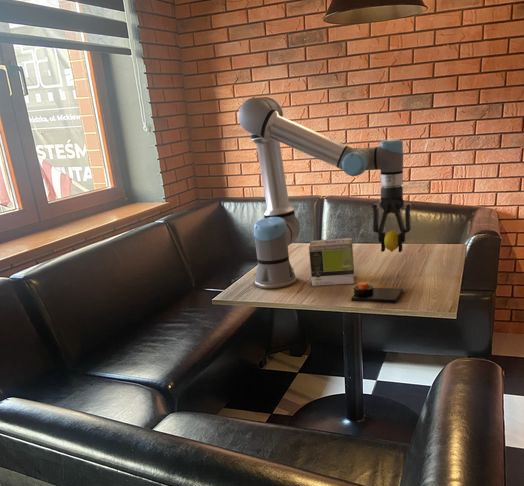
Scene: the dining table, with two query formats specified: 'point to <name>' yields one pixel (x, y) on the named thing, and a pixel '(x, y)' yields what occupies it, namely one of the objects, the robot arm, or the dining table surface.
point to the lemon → (391, 240)
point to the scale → (376, 294)
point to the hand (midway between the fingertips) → (391, 250)
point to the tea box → (331, 261)
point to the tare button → (363, 285)
